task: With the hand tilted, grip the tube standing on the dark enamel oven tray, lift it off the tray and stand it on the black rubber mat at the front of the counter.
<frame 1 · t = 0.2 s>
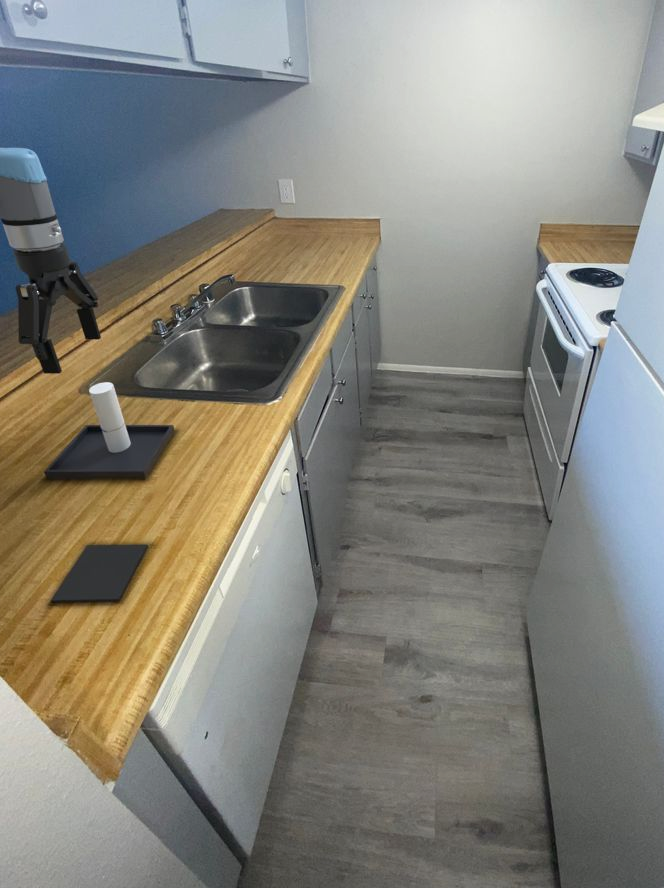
hand: (74, 354, 91), 24 cm above the worktop, tool pointing down, fingers open, 13 cm apart
tube: (119, 446, 103), resting on tray
mat: (103, 573, 76), on the worktop
tray: (115, 453, 101), on the worktop
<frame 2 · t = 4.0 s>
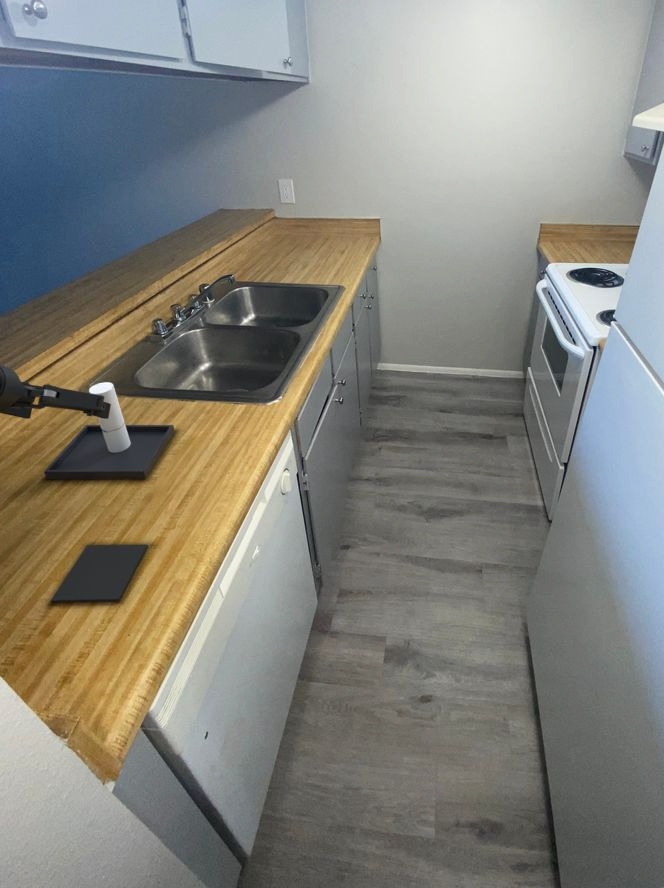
hand: (68, 411, 86), 17 cm above the worktop, tool tilted 45°, fingers open, 13 cm apart
nothing on the worktop moved.
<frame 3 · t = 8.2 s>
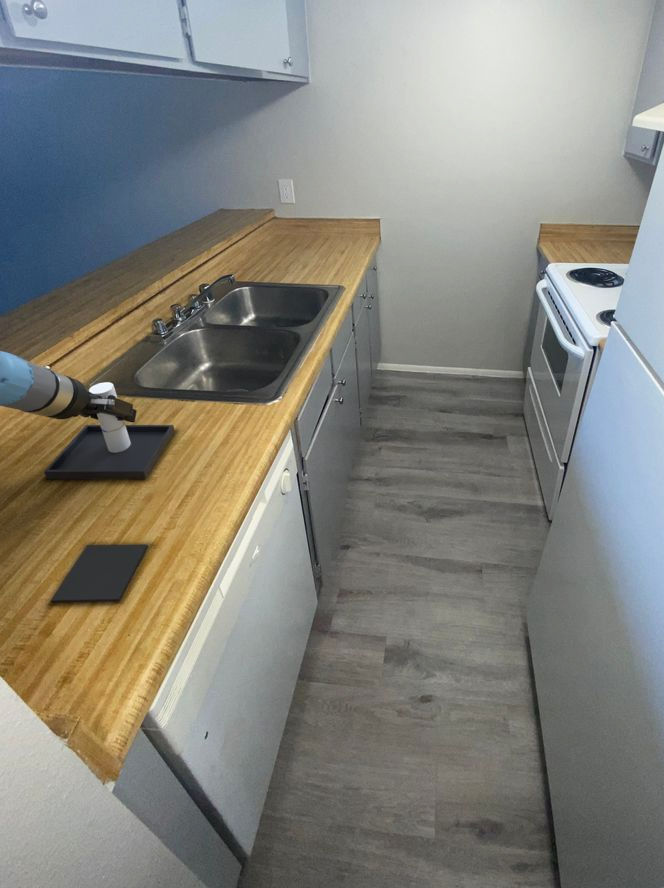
hand: (122, 416, 103), 6 cm above the worktop, tool tilted 45°, fingers closed on tube, 4 cm apart
tube: (119, 446, 103), resting on tray, touching gripper
when the fingers open (6 cm above the worktop, at t = 19.3 s): tube stays where it is, resting on mat.
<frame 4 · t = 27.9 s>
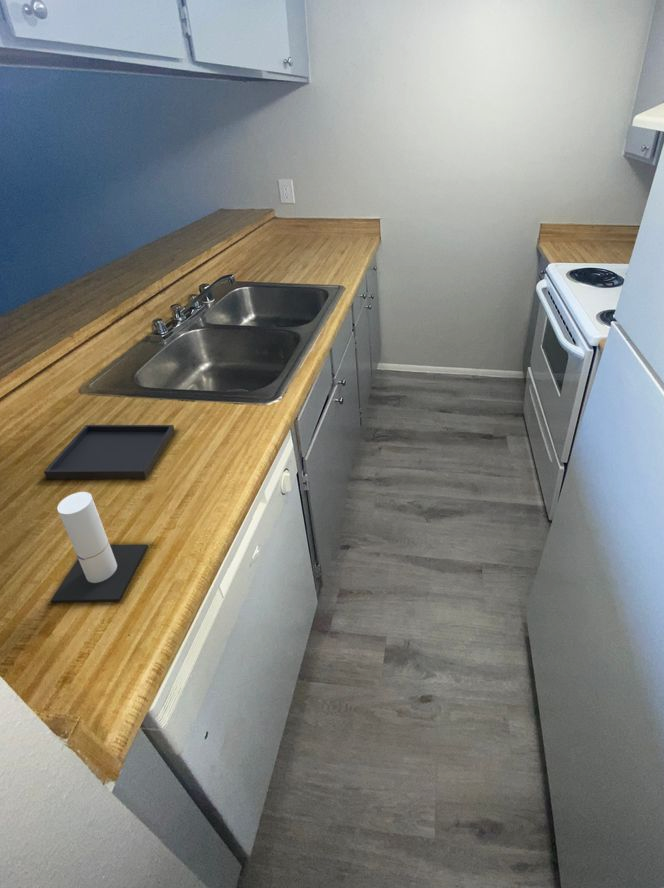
tube: (102, 571, 76), resting on mat
at the end: tube inside the target area on the mat (0.0 cm from its centre), point 0.4 cm above the mat's base; tube tilted 0°; tube touching mat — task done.
